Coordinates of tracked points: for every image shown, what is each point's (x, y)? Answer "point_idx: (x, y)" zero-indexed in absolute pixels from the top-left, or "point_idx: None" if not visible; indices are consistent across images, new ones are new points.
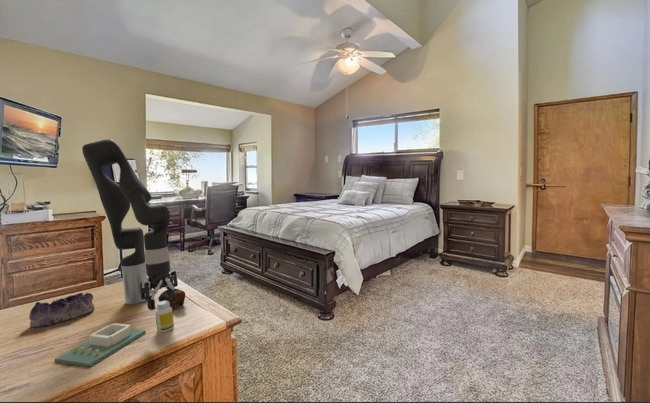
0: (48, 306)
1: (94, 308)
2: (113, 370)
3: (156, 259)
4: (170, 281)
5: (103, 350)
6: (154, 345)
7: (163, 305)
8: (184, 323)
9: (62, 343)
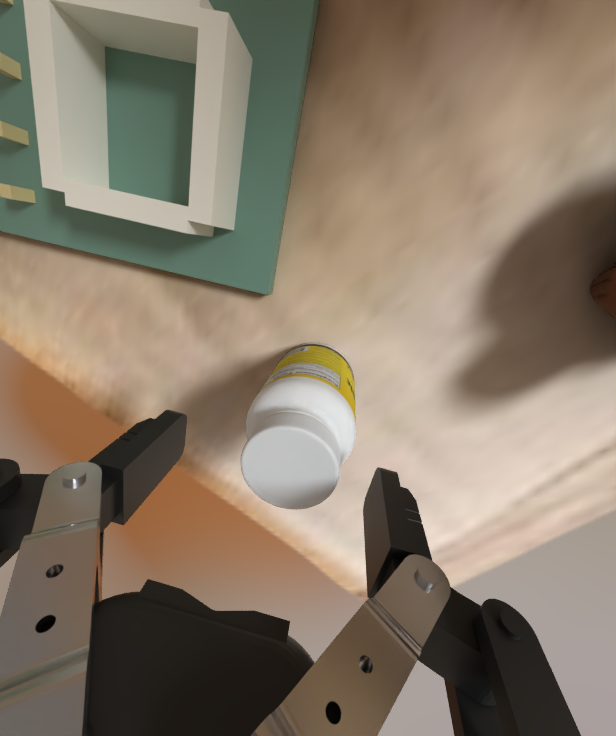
0: None
1: None
2: (12, 346)
3: None
4: (499, 714)
5: (60, 200)
6: (173, 403)
7: (253, 482)
8: (367, 444)
9: None
